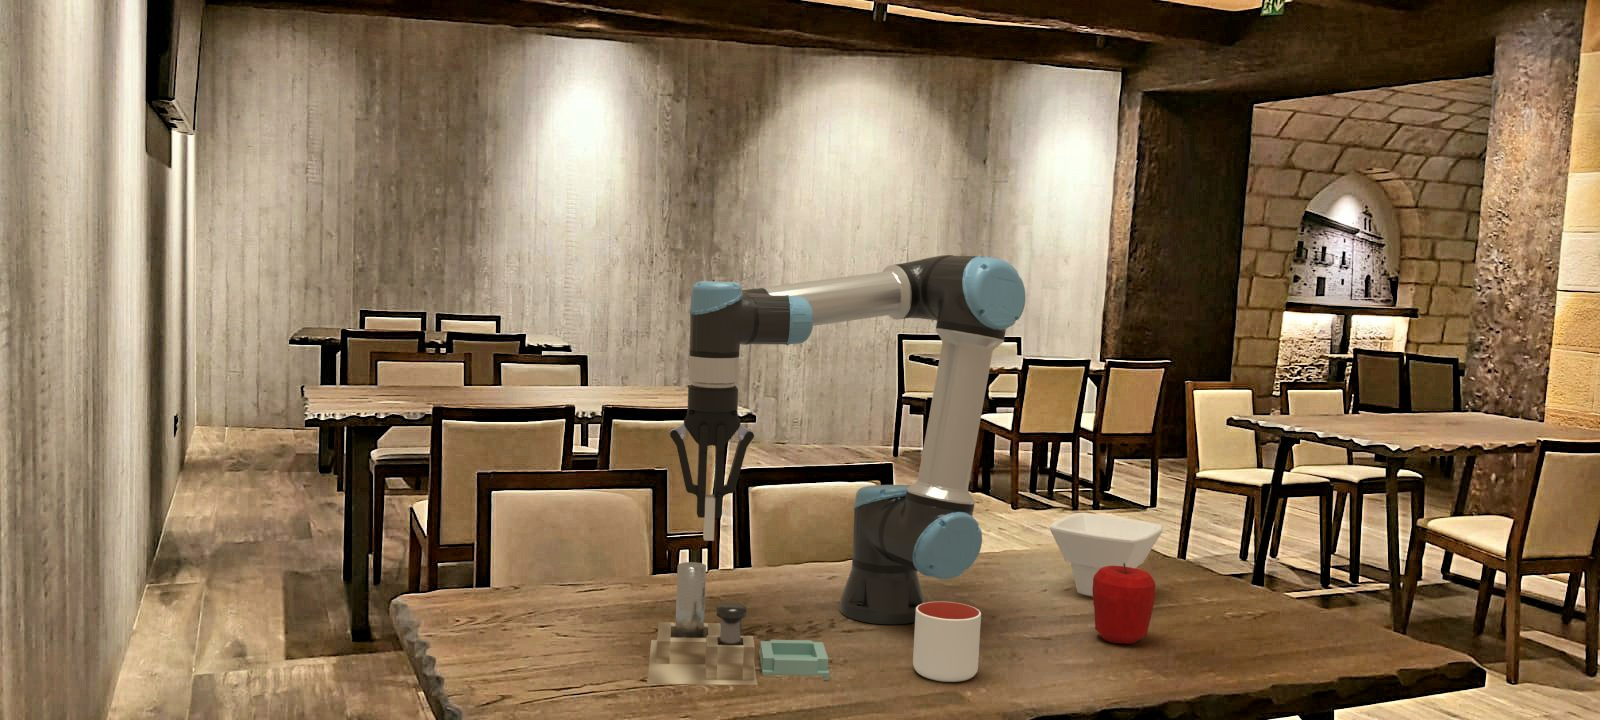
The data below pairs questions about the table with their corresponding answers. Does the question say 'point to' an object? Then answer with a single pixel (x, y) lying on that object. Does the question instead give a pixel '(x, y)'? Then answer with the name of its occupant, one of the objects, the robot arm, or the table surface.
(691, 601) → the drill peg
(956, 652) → the cup
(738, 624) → the black mushroom head peg
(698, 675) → the socket block
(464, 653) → the table surface
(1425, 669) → the table surface
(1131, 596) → the apple
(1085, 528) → the bowl
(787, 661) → the tray
